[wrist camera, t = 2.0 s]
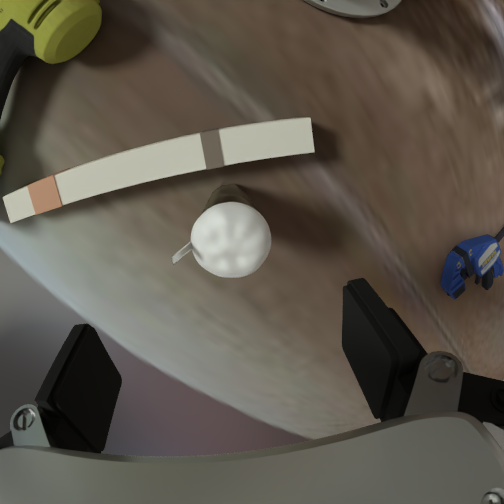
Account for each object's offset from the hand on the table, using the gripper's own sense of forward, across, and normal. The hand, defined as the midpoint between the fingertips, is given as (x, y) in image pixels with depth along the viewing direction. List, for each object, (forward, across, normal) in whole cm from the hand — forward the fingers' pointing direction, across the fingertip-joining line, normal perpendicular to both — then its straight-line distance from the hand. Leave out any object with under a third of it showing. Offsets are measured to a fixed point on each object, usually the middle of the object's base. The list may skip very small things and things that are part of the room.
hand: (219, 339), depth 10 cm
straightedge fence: (+16, +6, -5) cm, 17 cm away
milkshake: (+16, 0, -1) cm, 16 cm away
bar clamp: (+16, -38, +5) cm, 41 cm away
